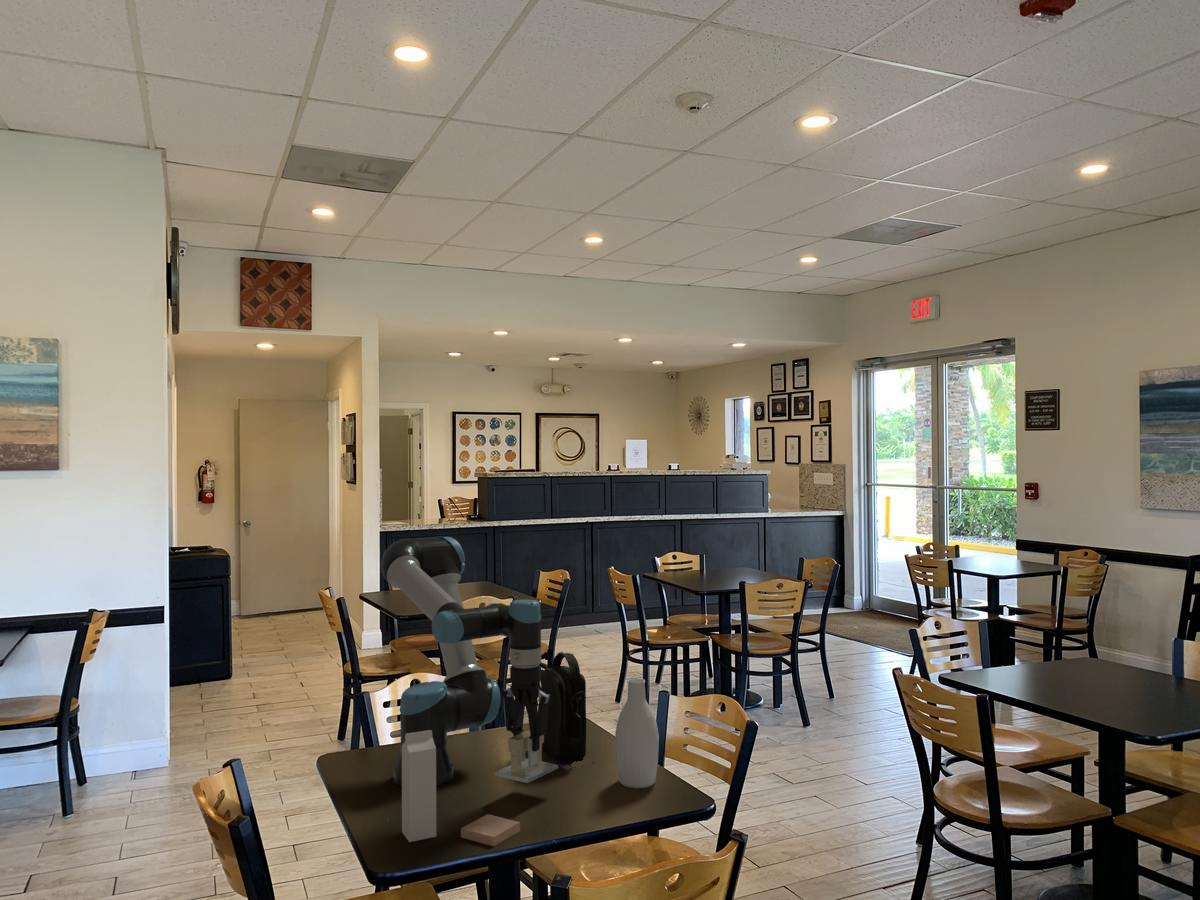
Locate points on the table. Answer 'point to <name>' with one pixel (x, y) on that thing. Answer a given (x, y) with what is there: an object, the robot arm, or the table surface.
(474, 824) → the tile
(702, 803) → the table surface
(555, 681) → the shoulder bag
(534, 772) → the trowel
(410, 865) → the table surface
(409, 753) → the milk
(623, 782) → the bottle
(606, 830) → the table surface
